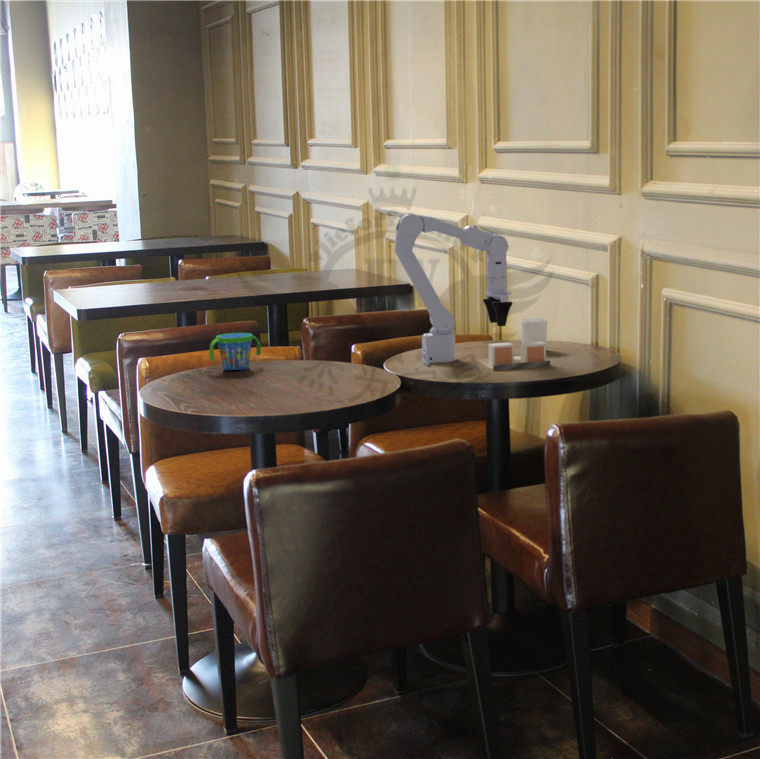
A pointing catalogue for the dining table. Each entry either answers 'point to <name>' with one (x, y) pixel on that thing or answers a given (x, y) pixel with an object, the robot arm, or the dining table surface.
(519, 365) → the shelf board
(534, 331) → the white cup
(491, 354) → the carton
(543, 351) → the faced carton
